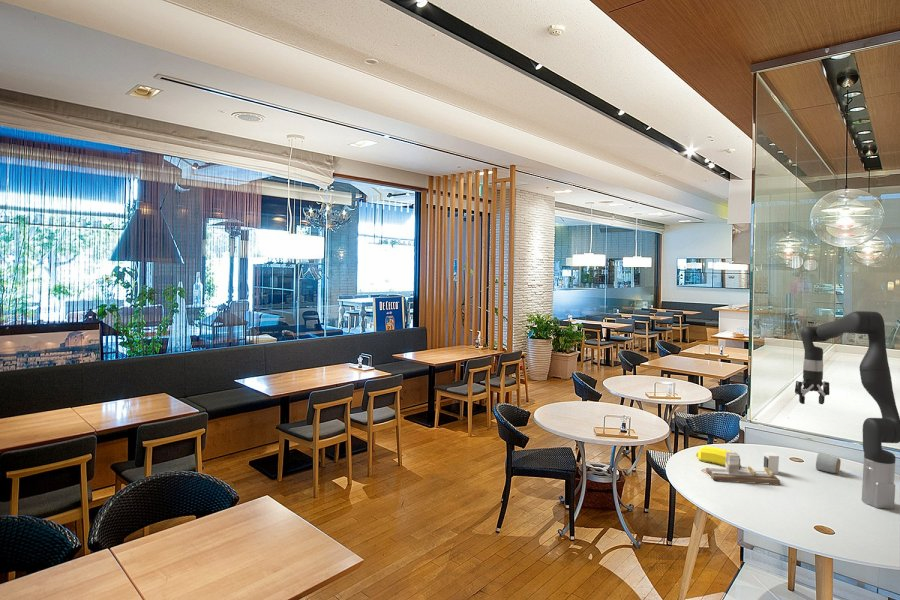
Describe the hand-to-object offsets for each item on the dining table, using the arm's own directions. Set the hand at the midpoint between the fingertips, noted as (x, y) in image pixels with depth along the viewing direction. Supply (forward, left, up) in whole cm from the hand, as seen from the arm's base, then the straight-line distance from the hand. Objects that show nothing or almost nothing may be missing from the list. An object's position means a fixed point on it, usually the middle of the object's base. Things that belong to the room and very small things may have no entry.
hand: (811, 403), depth 238 cm
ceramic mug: (-10, -3, -28) cm, 30 cm away
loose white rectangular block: (-16, +23, -28) cm, 39 cm away
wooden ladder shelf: (-26, +39, -28) cm, 55 cm away
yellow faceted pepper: (-8, +43, -28) cm, 52 cm away
